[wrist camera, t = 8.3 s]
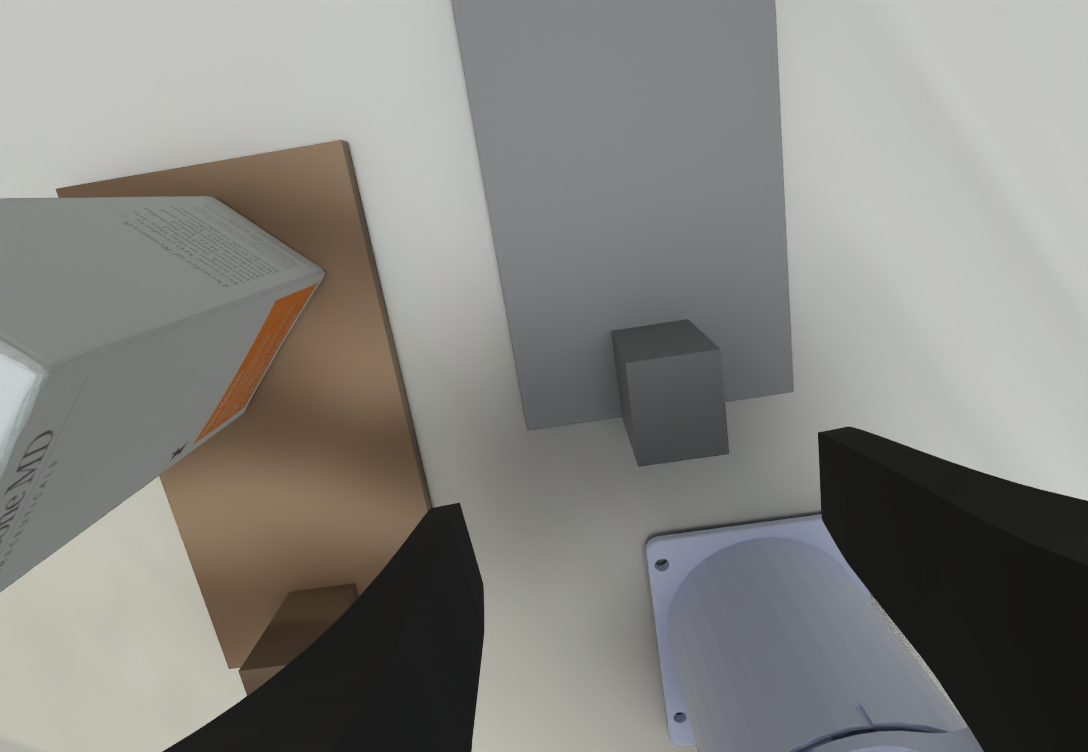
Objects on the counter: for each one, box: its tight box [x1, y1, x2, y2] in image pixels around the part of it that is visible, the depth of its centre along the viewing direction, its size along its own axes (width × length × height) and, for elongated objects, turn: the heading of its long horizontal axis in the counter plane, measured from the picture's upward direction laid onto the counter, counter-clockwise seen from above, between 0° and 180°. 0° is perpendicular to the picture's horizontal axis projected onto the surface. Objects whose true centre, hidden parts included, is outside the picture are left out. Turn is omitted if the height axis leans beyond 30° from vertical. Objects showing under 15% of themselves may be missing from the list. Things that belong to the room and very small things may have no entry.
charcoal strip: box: [452, 0, 794, 467], centre depth 17 cm, size 18×9×5 cm, turn 9°
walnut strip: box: [56, 140, 432, 696], centre depth 20 cm, size 18×9×5 cm, turn 9°
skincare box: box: [0, 196, 325, 592], centre depth 15 cm, size 6×4×12 cm
